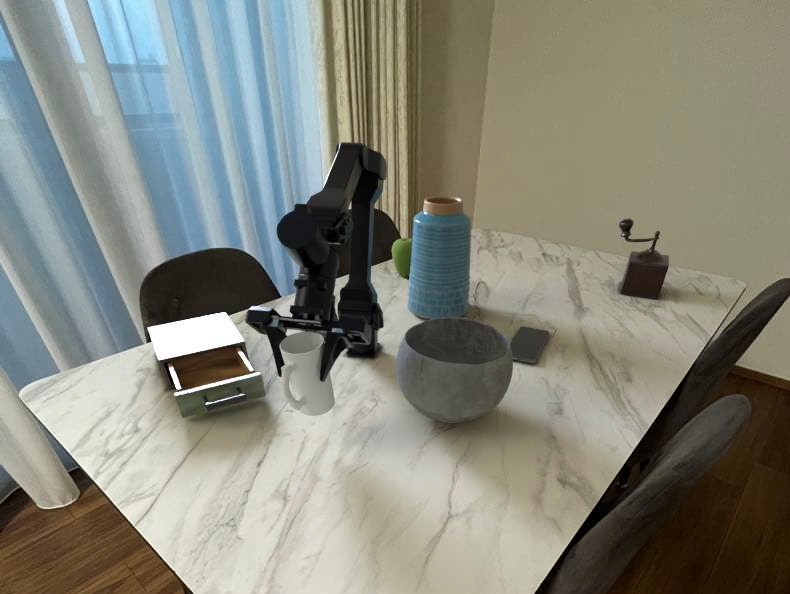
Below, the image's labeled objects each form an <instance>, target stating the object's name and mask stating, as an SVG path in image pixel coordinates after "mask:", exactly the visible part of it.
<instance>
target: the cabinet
mask: <svg viewBox="0 0 790 594" xmlns="http://www.w3.org/2000/svg"><path fill="white" fill-rule="evenodd" d="M146 329H147V332H148V335H149V337H150V340H151V344H152V346H153V350H154V352H155V355H156V358H157V361H158V364H159V366H160V369H161V373H162V375H163V377H164V380H165V384H166V385H167V389H168V390H172V389H173V390H174V389H176V387H175V384H174V382H173V379H172V376H171V373H170V370H169V368H168V365H167V362H170V361H175V360H179V359H183V358H188V357H192V356H197V355H201V354H206V353H210V352H214V351H219V350H223V349H228V348H232V347H237V346H239V347H240V349H241V351H242V352H243V354H244V355H245V357H246V358H247V360H248V361H249V363H250V359H249V355H248V350H247V346H246V345H247V344H246V341H245V339H244V338H243V336H242V335H241V334H240V332H239V331H238V329H237V327H236V326H235V325H234V323H233V322H232V320H231V318H230V317H229V315H228V314H227V313H226V312H225V311H224V312H220V313H214V314H209V315H203V316H199V317H193V318H189V319H184V320H179V321H178V320H177V321H173V322H168V323H163V324H158V325H153V326H147V327H146ZM250 364H251V363H250Z"/></svg>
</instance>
